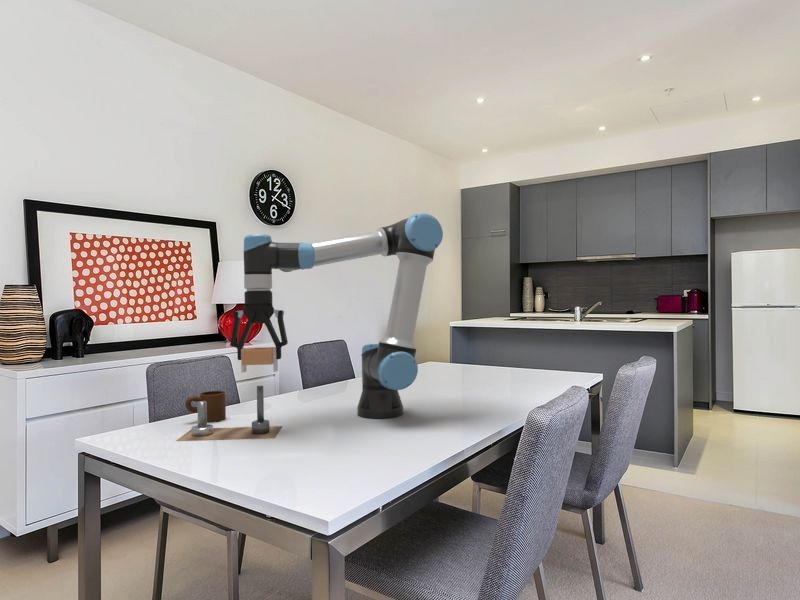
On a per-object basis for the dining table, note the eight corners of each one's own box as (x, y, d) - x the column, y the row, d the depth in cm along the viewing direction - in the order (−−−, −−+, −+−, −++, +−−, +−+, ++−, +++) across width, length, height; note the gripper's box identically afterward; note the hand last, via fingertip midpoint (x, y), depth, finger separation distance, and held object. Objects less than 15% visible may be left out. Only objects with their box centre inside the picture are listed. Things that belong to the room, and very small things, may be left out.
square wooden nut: (276, 360, 150) (276, 347, 150) (271, 364, 142) (271, 349, 142) (248, 361, 149) (248, 347, 149) (241, 365, 141) (241, 350, 141)
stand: (271, 429, 148) (270, 384, 148) (267, 434, 143) (267, 387, 143) (253, 430, 148) (253, 384, 148) (250, 434, 143) (249, 387, 143)
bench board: (282, 429, 152) (282, 426, 152) (274, 441, 139) (274, 438, 139) (192, 432, 151) (192, 428, 151) (175, 444, 138) (175, 441, 138)
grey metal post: (215, 431, 148) (215, 399, 148) (209, 436, 142) (209, 403, 142) (195, 431, 147) (195, 400, 147) (188, 437, 142) (188, 404, 142)
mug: (190, 429, 154) (189, 398, 154) (181, 425, 159) (181, 394, 159) (229, 423, 161) (229, 392, 161) (220, 418, 167) (219, 389, 167)
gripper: (297, 289, 150) (299, 368, 150) (224, 290, 149) (225, 370, 149) (294, 289, 142) (295, 372, 142) (216, 290, 141) (218, 374, 141)
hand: (259, 371), depth 146 cm, fingers closed on square wooden nut, 8 cm apart
